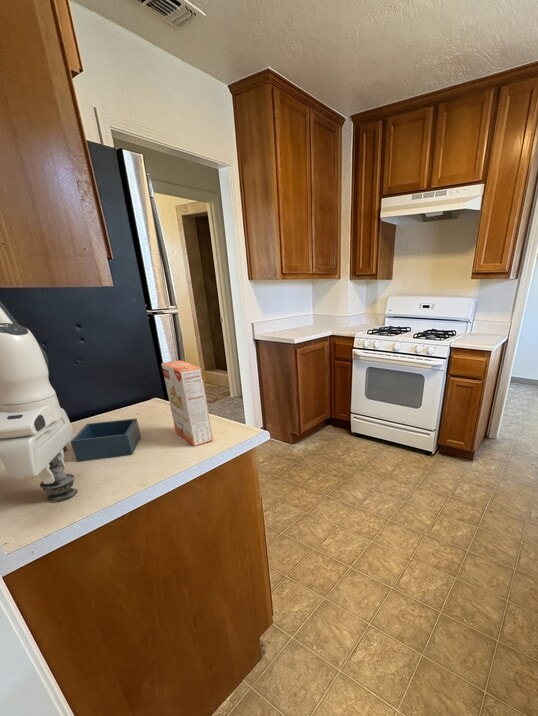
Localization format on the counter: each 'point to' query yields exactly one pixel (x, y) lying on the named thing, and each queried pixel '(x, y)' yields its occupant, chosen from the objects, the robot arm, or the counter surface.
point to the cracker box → (188, 401)
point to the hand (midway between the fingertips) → (55, 476)
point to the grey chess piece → (59, 483)
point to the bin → (106, 440)
